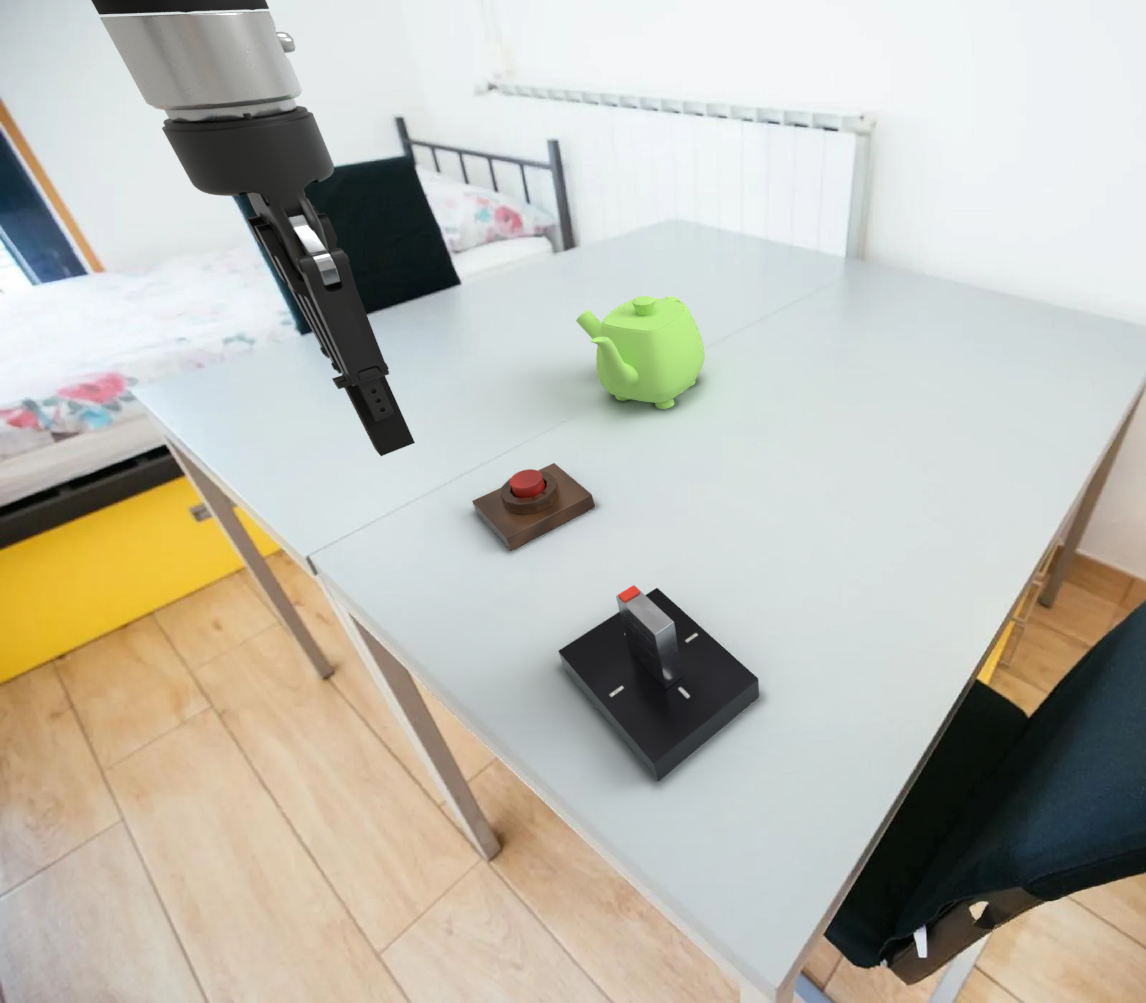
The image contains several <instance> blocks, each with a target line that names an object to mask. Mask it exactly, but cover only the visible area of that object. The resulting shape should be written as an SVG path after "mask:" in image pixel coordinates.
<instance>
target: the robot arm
mask: <svg viewBox="0 0 1146 1003" xmlns="http://www.w3.org/2000/svg"><path fill="white" fill-rule="evenodd" d="M90 1H91V3H92V5H93V7H94V8H95V10H96V12H97V13H98V15H100V16H99V19H100V21H101V23H102V24H103V26H104V28H105V29H106V31H107V33H108V35H109V37H110V39H111V42H112V43H113V45H114V46H115V48H116V50H117V52H118V54H119V55H120V58H121V59H122V61H123V63H124V65H125V67H126V68H127V71H128V72H129V74H130V76H131V77H132V79H133V82H134V83H135V85H136V88H138V91H139V92H140V94H141V97H142V98H143V100H144V101H145V104H147V105H149V106H151V107H152V108H154V109H156V110H163V111H164V112H165V114H166V116H167V117H168V118H166V119H165V120H163V125H164V126H162V127H161V130H162V132H163V134H164V135H165V137H166V139H167V140H168V142H169V144H170V147H171V148H172V150H173V152H174V154H175V155H176V157H177V159H178V161H179V162H180V165H181V166H182V168H183V170H184V172H185V173H186V175H187V177H188V178H189V181H190V182H191V184H192V186H193V187H194V188H195V189H197V190H199V191H200V192H202V193H204V194H207V195H214V196H221V197H223V196H224V197H238V196H243V195H247V197H248V199H249V202H250V204H251V207H252V208H253V210H254V213H255V214H256V216H251V217H246V218H245V220H246V222H247V224H248V227H249V228H250V230H251V232H252V235H253V236H254V239H256V241H257V242H258V243H259V244H260V245H261V246H263V247H264V248H265V250H266V253H267V254H268V257H269V259H270V260H271V262H272V265H274V268H275V270H276V272H277V274H278V276H279V277H280V279H281V280H282V281H283V282H284V283H285V284H287V286H288V288H289V290H290V292H291V294H292V296H293V297H294V299H295V302H296V303H297V306H299V309H300V311H301V313H302V315H303V316H304V318H305V320H306V322H307V323H308V326H309V328H310V329H311V331H312V333H313V335H314V337H315V339H316V341H317V342H318V344H319V346H320V348H319V350H320V352H321V353H322V355H324V356H325V358H327V359H330V362H331V363H330V365H331V367H332V369H333V370H334V371H336V372H337V373H338V374H339V376H336V377H332V378H331V379H332V381H333V383H334V385H335V387H336V388H337V389H338V390H341V389H344V390H345V392H346V394H347V396H348V398H349V400H350V402H351V405H352V406H353V408H354V411H355V413H356V414H357V416H358V418H359V421H360V422H361V424H362V426H363V428H364V430H365V432H366V434H367V436H368V439H369V440H370V443H371V444H372V446H373V448H374V450H375V451H376V452H377V453H378V454H379V456H380V457H384V456H386V455H388V454H390V453H393V452H395V451H398V450H400V449H401V450H402V449H404V448H406V447H408V446H411V445H413V444H415V443H416V442H415V440H414V437H413V435H412V433H411V431H410V428H409V426H408V424H407V422H406V420H405V417H404V415H403V413H402V411H401V409H400V406H399V404H398V402H397V400H396V397H395V395H394V392H393V390H392V388H391V385H390V384H389V382H388V380H387V376H388V375H389V376H390V371H389V366H388V363H386V361H385V358H384V357H383V353H382V350H381V349H380V346H379V343H378V341H377V338H376V336H375V333H374V330H373V328H372V324H371V322H370V319H369V317H368V314H367V312H366V308H365V306H364V304H363V302H362V299H361V297H360V294H359V291H358V289H357V286H356V283H355V280H354V276H353V272H352V268H351V264H350V261H351V260H350V257H349V256H348V254H347V253H345V251H344V250H343V249H342V248H341V247H338V245H337V242H338V236H337V233H336V232H335V229H334V226H333V224H332V222H331V220H330V219H329V217H328V215H327V214H326V213H325V212H322V213H319V211H318V210H317V208H316V206H315V205H312V204H311V202H310V199H309V198H308V197H307V196H306V192H305V188H306V187H307V186H308V185H309V184H316V183H317V184H318V183H320V182H323V181H325V180H328V178H330V177H331V176H332V175H333V174H334V172H335V164H334V161H333V160H332V157H331V154H330V152H329V150H328V147H327V144H326V143H325V139H324V138H323V135H322V132H321V130H320V127H319V125H318V123H317V120H316V118H315V116H314V113H313V112H312V111H308V108H307V107H306V106H303V105H302V106H301V105H297V103H296V100H295V98H299V97H300V96H301V94H302V91H303V88H302V86H301V84H300V81H299V80H298V79H299V78H298V75H297V74H296V72H295V69H294V67H293V65H292V62H291V60H290V59H289V57H288V56H287V54H289V53H293V52H295V51H296V49H297V47H296V44H295V41H294V38H293V37H292V36H291V34H289V33H288V32H285V31H277V30H276V23H275V20H274V19H273V16H272V14H271V12H270V10H269V9H270V7H269V4H268V3H267V0H90ZM245 10H246V11H245ZM255 10H260V11H255ZM261 10H264V11H261ZM265 10H267V11H265ZM268 10H269V11H268ZM216 11H218V12H216ZM219 11H230V12H219ZM231 11H233V12H231ZM193 12H200V13H193ZM201 12H205V13H201ZM206 12H207V13H206ZM157 13H174V14H157ZM177 13H178V14H177ZM125 14H127V15H125ZM131 14H145V15H131ZM146 14H148V15H146ZM149 14H150V15H149ZM101 15H102V16H101ZM103 15H121V16H103ZM340 374H341V375H340Z"/></svg>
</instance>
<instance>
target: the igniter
mask: <svg viewBox="0 0 1146 1003" xmlns="http://www.w3.org/2000/svg"><path fill="white" fill-rule="evenodd" d="M536 470H537V469H536ZM537 471H539V472H540V473H541V474H542V477H543V480H544V483H545V488H544V490H543V491H542V493H540V494H538V495H535V496H533V497H529V498H518V497H516V496H515V495H514V494H513V491H512V488H511V485H510V479H511V477H510V478H509V479H507V481H506V482H505V483H504V484H502V486H501V487H499V488H497V489H495V490H493V491H490V492H488V493H486V494H484V495H482V496H480V497H478V498H476V499H473V500H471V503H472V505H473V506H474V510H475V513H476V515H477V516H478V517H480V519H481V520H482V521H483V522H484V523H485V524H486V525H487V526H488V527H489V528H490V529H491V531H492V532H493V533H494V534H495V535H496V536H497V537H498V538H499V539H500V540H501V541H502V543H503V544H504V545H505V546H506V547H507V549H508V550H510V551H514V550H516V549H518V548H520V547H522V546H524V545H526V544H527V543H530V542H531V541H533V540H535V539H537V538H539V537H541V536H543V535H544V534H547V533H549V532H550V531H552V530H554V529H556V528H558V527H560V526H562V525H563V524H566V523H568V522H570V521H571V520H573V519H575V518H577V517H579V516H581V515H583V514H584V513H586V512H589V511H590V510H593V509H594V508H596V506H595V502H594V497H593V494H592V493H591V492H590V491H588V490H587V489H586V488H585V487H584V486H582V485H581V483H579V482H577V480H575V479H574V478H573V477H572V476H570V474H568V473H567V472H565V470H564V469H563V468H561V467H560V466H559V465H558V464H556V463H555V462H553V463H551V464H549V465H546V466H544V467H542V468H540V469H538V470H537Z"/></svg>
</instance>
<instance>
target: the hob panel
mask: <svg viewBox="0 0 1146 1003" xmlns="http://www.w3.org/2000/svg"><path fill="white" fill-rule="evenodd" d="M644 595H645V596H647V597H648V598H649V599H650V600H651V601H652V602H653V603H654V604H655V605H656V606H657V607H658V608H659V609H661V610H662V611H663V612H664V613H665V614H666V615H667V616H668V617H669V618H670V619H671V620H672V621H673V622H674V625H675V632H676V638H677V644H678V650H679V656H680V662H681V668H682V674H683V677H682V678H681V679H680V680H678V681H677V682H676V683H674V684H673V685H672V686H670V687H669V688H668V689H665V688H664V687H663V686H662V685H661V684H660V683H659V682H658V681H657V680H656V679H655V678H654V677H653V676H652V674H651V673H650V672H649V671H648V670H647V669H646V668H645V667H644V666H643V665H642V664H641V663H640V662H639V661H638V660H637V659H636V658H635V657H634V656H633V655H632V654H631V653H630V651H629V648H628V644H627V639H626V635H625V631H624V627H623V623H622V619H621V615H620V611H618V612H616V613H615V614H613V615H612V616H610V617H609V618H607V619H606V620H604V621H602V622H601V623H599V624H598V625H596V626H595V627H593V628H592V629H590V630H588V631H586V632H585V633H584V634H582V635H581V636H579V637H577V638H576V639H574V640H573V641H571V642H570V643H568V644H567V645H564V646H563V647H562V648H560V649H558V651H557V652H558V655H559V657H560V660H561V663H562V666H563V668H564V670H565V671H566V672H567V674H568V675H569V676H570V677H571V679H572V680H573V681H574V682H575V683H576V684H577V685H578V687H579V688H580V689H581V691H582V692H583V693H584V694H585V696H587V698H588V699H589V700H590V701H591V702H592V704H593V705H594V706H595V707H596V708H597V710H598V711H599V712H600V713H601V714H602V716H603V717H604V718H605V719H606V720H607V722H608V723H609V724H610V725H611V726H612V728H613V729H614V730H615V731H616V732H617V734H618V735H619V736H620V737H621V739H622V740H623V741H624V742H625V744H627V746H628V747H629V748H630V749H631V751H632V752H633V753H634V754H635V755H636V757H637V758H638V759H639V760H640V762H641V763H642V764H643V765H644V766H645V767H646V769H647V771H649V772H650V774H651V775H652V776H653V777H654V778H655V779H656V781H657V782H660V781H661V780H662V779H663V778H665V777H666V776H667V775H668V774H669V773H670V772H671V771H673V770H674V769H675V768H676V767H677V766H679V765H680V764H681V763H682V762H683V761H685V760H686V759H687V758H688V757H690V755H691V754H693V753H694V752H695V751H697V750H698V749H699V748H700V747H701V746H703V745H704V744H705V743H706V742H708V740H710V739H711V738H712V737H713V736H715V735H716V734H717V733H718V732H719V731H721V730H722V729H723V728H724V727H725V726H727V724H729V723H730V722H731V721H732V720H733V719H735V718H736V717H737V716H738V715H740V713H742V712H743V711H744V710H746V709H747V708H748V707H749V706H750V705H751V704H752V703H754V702H755V701H756V700H757V699H759V697H760V686H759V684H760V683H759V682H760V681H759V677H757V675H755V674H754V673H753V672H752V671H751V670H749V669H748V668H747V667H746V666H745V665H744V664H743V663H741V661H740V660H738V659H737V658H736V657H735V656H734V655H733V654H732V653H730V651H728V650H727V649H726V648H725V647H724V646H723V645H721V643H719V642H718V641H717V640H716V639H715V638H714V637H713V636H712V635H711V634H709V632H707V631H706V630H705V629H704V628H703V627H702V626H700V625H699V624H698V623H697V622H696V621H695V620H694V619H693V618H692V617H691V616H689V615H688V614H687V613H686V612H685V611H684V610H683V609H682V608H680V606H679V605H677V603H675V602H674V601H673V600H672V599H670V598H669V596H667V595H666V594H665V593H664V592H663V591H662V590H660V589H659V588H658V587H656V588H654V589H652V590H651V591H649V592H648V593H646V594H644Z"/></svg>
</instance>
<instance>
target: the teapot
mask: <svg viewBox="0 0 1146 1003" xmlns="http://www.w3.org/2000/svg"><path fill="white" fill-rule="evenodd" d="M694 318H695V317H693V314H692V313H691V311H690V309H689V307H688V306H687V304H685V303H684V302H682V301H681V299H680V298H678V297H676V296H672V295H667V296H665V297H663V298H656V297H654V296H651V295H639V296H637V297H635V298H633V299H632V298H631V299H630V300H628V301H625V302H624V303H622V304H620V305H618V306H617V307H615V308H614V309H613V310H611V311H609V313H608V314H607V315H606V316H605V317H604V318H603V319H602V321H600V319H598V318H597V317H596V315H595V314H594V313H593V312H592V311H591V310H590V309H587V310H586V311H584V312H582V313H581V314H580V315H579V316H578V317H577V318H576V320H575V322H576V323H577V324H578V325H579V326H580V327H581V328H582V329H583V330H584V332H585V333H586V334H587V335H588V336H589V337H590V338H591V339H590V340H589V342H591V343H593V344H596V345H597V346H596V357H595V358H596V373H597V378H598V380H599V383H600V384H601V385H602V387H603V388H604V389H605V390H606V391H607V392H608V393H609V394H611V395H613V396H614V397H615V400H617V401H621V402H623V401H625V402H626V401H629V400H634V401H639V402H645V403H646V402H647V403H654V406H655V407H656V408H657V409H661V410H667V409H670V408H673V407H674V405H675V400H674V398H676V397H678V396H679V395H681V394H682V393H683V392H685V391H686V390H688V389H689V388H690V387H692V386H694V385H695V384H696V380H697V379H698V376H699V374H700V372H701V370H702V368H703V365H704V363H705V358H706V356H705V347H704V343H703V339H702V336H701V333H700V330H699V328H698V325H697V323H696V320H695V319H694Z"/></svg>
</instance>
